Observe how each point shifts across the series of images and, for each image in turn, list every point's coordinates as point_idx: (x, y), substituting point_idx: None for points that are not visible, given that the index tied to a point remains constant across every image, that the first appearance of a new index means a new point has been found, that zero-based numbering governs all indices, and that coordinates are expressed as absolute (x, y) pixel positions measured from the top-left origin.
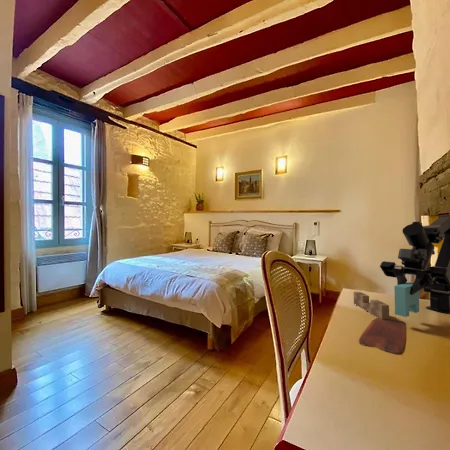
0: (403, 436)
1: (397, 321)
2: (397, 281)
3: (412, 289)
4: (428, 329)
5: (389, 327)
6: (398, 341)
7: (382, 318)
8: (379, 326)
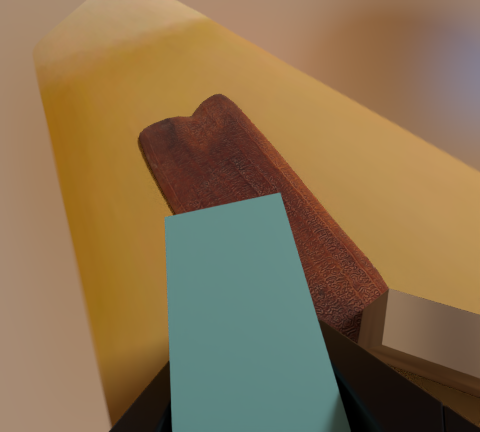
0: (61, 29)
1: None
2: (432, 397)
3: (162, 378)
4: None
5: None
6: (168, 169)
7: (364, 311)
8: None
